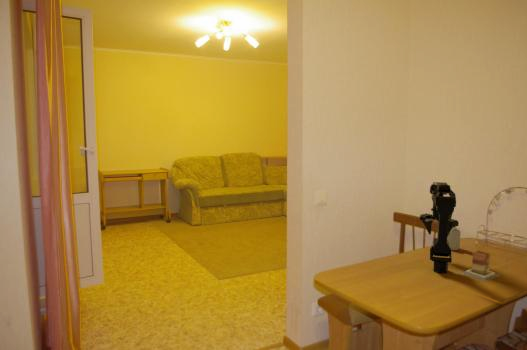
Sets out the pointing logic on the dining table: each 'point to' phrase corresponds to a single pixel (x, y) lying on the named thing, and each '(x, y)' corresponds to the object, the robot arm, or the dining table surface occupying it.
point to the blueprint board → (484, 278)
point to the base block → (480, 269)
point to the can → (454, 238)
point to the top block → (481, 258)
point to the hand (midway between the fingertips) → (437, 236)
